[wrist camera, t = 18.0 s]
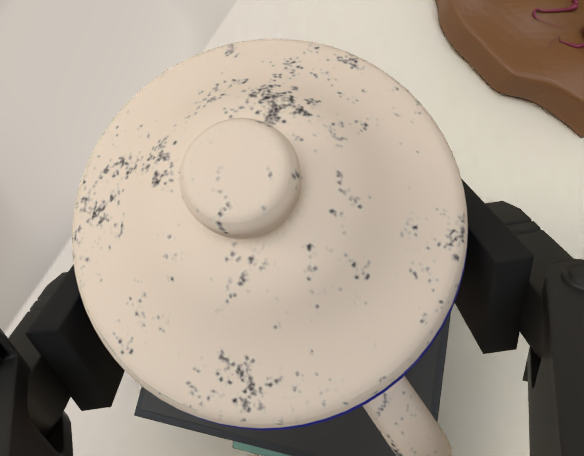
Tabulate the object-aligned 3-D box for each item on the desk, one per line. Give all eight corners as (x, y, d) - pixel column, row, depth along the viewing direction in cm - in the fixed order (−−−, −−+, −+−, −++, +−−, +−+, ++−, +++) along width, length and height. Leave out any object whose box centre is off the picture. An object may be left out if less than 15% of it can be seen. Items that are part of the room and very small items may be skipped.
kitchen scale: (152, 414, 23) (125, 429, 20) (216, 164, 26) (201, 144, 23) (415, 481, 21) (430, 509, 18) (451, 204, 24) (469, 187, 21)
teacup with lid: (156, 240, 18) (-119, 114, 7) (319, 131, 19) (307, -152, 8) (305, 488, 16) (249, 937, 4) (491, 352, 16) (882, 430, 5)
